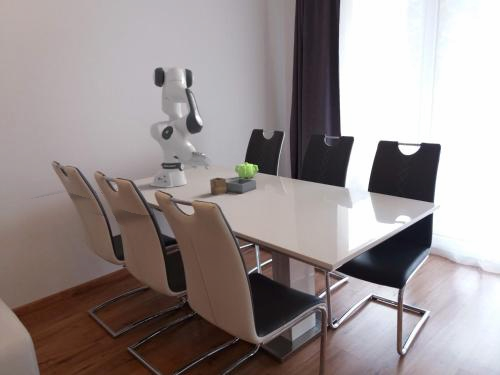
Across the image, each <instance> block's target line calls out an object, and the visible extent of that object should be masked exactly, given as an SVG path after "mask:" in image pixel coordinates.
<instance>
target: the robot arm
mask: <svg viewBox="0 0 500 375" xmlns="http://www.w3.org/2000/svg"><path fill="white" fill-rule="evenodd" d="M194 79H195V78H194V74H193V72H192V70H191V69H187V68H181V67H178V66H177V67H176V66H174V67H173V66H172V67H161V66H160V67H156V68H155V69H154V70H153V72H152V81H153V84H154V85H155V86H156V87H158V88H162V89H161V106H160V107H161V111H162V113H164V114H165V115H167V116H168V120H162V121H158V122H154V123H152V124H151V126H150V128H149V134H150V136H151V137H152V139H153V140H154V141H156V142H158V144H159V145H160V147H161V150H162V155H163V162H162V163H160V167H161V168H160V170H159V171H158V172H156V173H155V174H154V176H153V182H151V183H150V185H149V186H150V187H157V188H167V189H168V188H173V187H174V188H175V187H181V186H184V185H185V186H186V184H188V181H187V178H186V175H185V167H184V166H185V165H186V166H187V165H188V166H190V167H191V168H192V169H197V168H198V166H200V167H202V166H203V167H204V168H205V169H206V170H210V169H211V163H212V159H211V158H210V157H209V156H208V155H207V154H206V153H204V152H201V151H196V147H195V146H193V144H192V143H191V142H190V141H189V140H187V139H186V138H187V137H190V136H192V135H195V134H199V133H201V131H202V129H203V127H204V122H203V119H202V116H201V114H200V112H199V111H200V110H199V108H198V107H199V106H198V105H197V101H196V98H195V95H194V93H193V92H192V90H191V89H190V88H191V87H192V86H193V84H194ZM182 104H186V108H187V113H186V114H185V115H184V116H183V113H182Z"/></svg>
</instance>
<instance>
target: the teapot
mask: <svg viewBox="0 0 500 375" xmlns="http://www.w3.org/2000/svg"><path fill="white" fill-rule="evenodd" d="M234 172H235V173H237V175H238V178H243V179H245V178H247V179H251V180H252V178H253V177H254V176H255V175H256V173H258V172H259V168H258V165H256V164H253V163H248V162H244V163H242V164H240V165H237V164H236V165H235V170H234Z"/></svg>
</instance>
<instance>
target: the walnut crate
mask: <svg viewBox="0 0 500 375" xmlns="http://www.w3.org/2000/svg"><path fill="white" fill-rule="evenodd" d="M226 182H227V180H226V177H225V178H223V177H215V178H211V179H210V180H209V183H210V194H211V195H217V196H221V195H224V194H227V191H226Z"/></svg>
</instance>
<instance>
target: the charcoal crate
mask: <svg viewBox="0 0 500 375" xmlns="http://www.w3.org/2000/svg"><path fill="white" fill-rule="evenodd" d="M254 190H257V180H256V179H252V178H251V179H248V178H244V179H243V178H242V177H238V178H235V179H231V180H229V181H226V192H231V193H237V194H245V193H249V192H251V191H254Z"/></svg>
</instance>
